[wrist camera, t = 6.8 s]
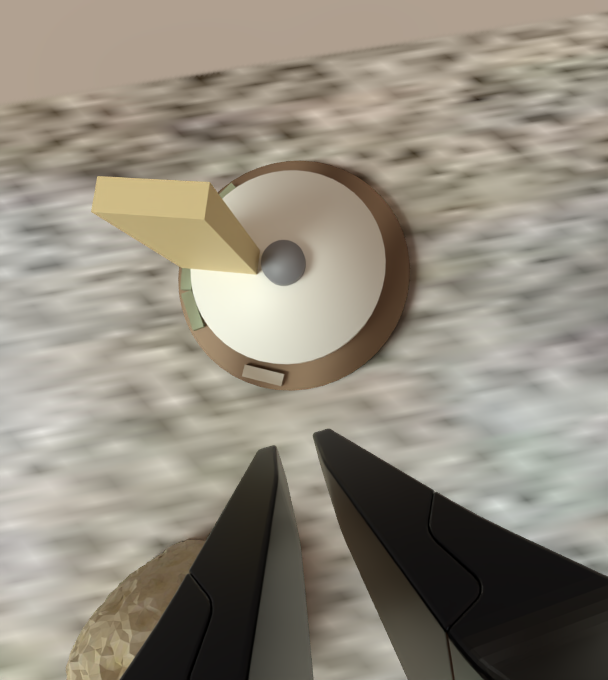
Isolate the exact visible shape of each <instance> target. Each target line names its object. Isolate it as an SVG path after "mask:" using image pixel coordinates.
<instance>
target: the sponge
mask: <svg viewBox="0 0 608 680" xmlns="http://www.w3.org/2000/svg"><path fill="white" fill-rule="evenodd" d="M204 543H205V541H204V540H186V541H182V542H179V543H176V544H174V545H172V546H170V547H169V548H167V549H166V550H165V552H164V553H162V554H161V555H159V556H157V557H156V558H154V559H153V560H151V561H149V562H147V563H146V565H144V566H142V567H140V568H139V569H138V570H136V571H135V572H133V573H132V574H130V575H129V576H128V577H127V578H126V579H125V580H124V581H123V582H121V583H120V584H119V585H118V587H117V588H116V589H115V590H114V591H113V592H111V593H110V594H109V595H108V597H107V599H106V600H105V602H104V603H103V605H101V606H100V607H99V608H98V609H97V610H96V611H95V612H94V614H93V615H92V617H91V618H90V619H89V621H88V622H87V624H86V625H85V626H84V628H83V629H82V631H81V633H80V634H79V636H78V638H77V640H76V643H75V645H74V646H73V649H72V651H71V653H70V656H69V661H68V663H67V666H66V673H67V679H66V680H119V679H120V678H121V676H122V675H123V674H124V672H125V671H126V669H127V668H128V666H129V665H130V663H131V662H132V660H133V659H134V657H135V656H136V654H137V653H138V651H139V650H140V648H141V647H142V645H143V644H144V642H145V641H146V639H147V638H148V636H149V635H150V633H151V632H152V630H153V629H154V627H155V626H156V624H157V623H158V621H159V619H160V618H161V616H162V614H163V613H164V611H165V609H166V608H167V606H168V605H169V603H170V601H171V600H172V598H173V596H174V595H175V593H176V591H177V590H178V588H179V586H180V584H181V583H182V581H183V579H184V577H185V576H186V574H188V573H189V569H190V567H191V566H192V564H193V562H194V560H195V559H196V557H197V555H198V554H199V552H200V550H201V548H202V547H203V545H204Z"/></svg>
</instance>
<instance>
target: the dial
mask: <svg viewBox="0 0 608 680" xmlns="http://www.w3.org/2000/svg"><path fill="white" fill-rule="evenodd" d="M91 212H92V213H94V214H96V215H97V216H99V217H100V218H102V219H104V220H105V221H107V222H108V223H110V224H112V225H113V226H115V227H116V228H118V229H120V230H121V231H123V232H125V233H126V234H128V235H129V236H131V237H133V238H134V239H136V240H137V241H139V242H141V243H142V244H144V245H146V246H147V247H149V248H150V249H152V250H154V251H155V252H157V253H158V254H160V255H162V256H163V257H165V258H166V259H168V260H170V261H171V262H173V263H175V264H176V265H178V266H179V267H181V268H188V269H191V284H192V290H193V295H194V298H195V301H196V304H197V307H198V309H199V311H200V313H201V315H202V317H203V319H204V320H205V322H206V323H207V325H208V327H209V328H210V329H211V330H212V331H213V332H214V334H215V335H216V336H217V337H218V338H219V339H220V340H222V341H223V342H224V343H225V344H226V345H228V346H229V347H231V348H232V349H233V350H235V351H237V352H239V353H241V354H243V355H245V356H247V357H250V358H252V359H255V360H258V361H263V362H268V363H274V364H301V363H306V362H310V361H314V360H317V359H320V358H323V357H325V356H327V355H329V354H331V353H333V352H335V351H337V350H338V349H340V348H341V347H343V346H344V345H346V344H347V343H348V342H349V341H350V340H352V339H353V338H354V337H355V336H356V335H357V334H358V333H359V332H360V330H361V329H362V328H363V327H364V326H365V324H366V323H367V321H368V320H369V318H370V317H371V315H372V313H373V311H374V309H375V307H376V305H377V302H378V300H379V297H380V293H381V290H382V287H383V282H384V277H385V264H386V258H385V248H384V243H383V239H382V235H381V232H380V230H379V227H378V225H377V222H376V220H375V219H374V217H373V215H372V213H371V212H370V210H369V209H368V208H367V206H366V205H365V204H364V202H363V201H362V200H361V199H360V198H359V197H358V196H357V195H356V194H355V193H354V192H352V191H351V190H350V189H348V188H347V187H346V186H344V185H343V184H341V183H339V182H337V181H335V180H334V179H331V178H329V177H326V176H324V175H321V174H317V173H313V172H307V171H298V170H288V171H278V172H272V173H268V174H264V175H261V176H258V177H256V178H253V179H251V180H248V181H247V182H245V183H243V184H241V185H239V186H238V187H236V188H235V189H234V190H232V191H231V192H229V193H228V194H227V195H226V196H225V197H224V198H223V199H222V198H221V197H220V195H219V194H218V193H217V191H216V190H215V189H214V187H213V186H212V185H211V183H210V182H195V181H176V180H157V179H139V178H120V177H101V176H97V182H96V188H95V193H94V199H93V205H92V210H91Z"/></svg>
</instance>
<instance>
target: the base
mask: <svg viewBox="0 0 608 680" xmlns="http://www.w3.org/2000/svg"><path fill="white" fill-rule="evenodd" d="M288 170H298V171H307V172H313V173H317V174H321V175H324V176H326V177H329V178H331V179H334V180H335V181H337V182H339V183H341V184H343V185H344V186H346V187H347V188H348V189H350V190H351V191H352V192H354V193H355V194H356V195H357V196H358V197H359V198H360V199H361V200H362V201H363V202H364V204H365V205H366V206H367V208H368V209H369V210H370V212H371V213H372V215H373V217H374V219H375V220H376V222H377V225H378V227H379V230H380V232H381V235H382V239H383V243H384V248H385V258H386V264H385V277H384V282H383V287H382V290H381V293H380V297H379V300H378V302H377V305H376V307H375V309H374V311H373V313H372V315H371V317H370V318H369V320H368V321H367V323H366V324H365V326H364V327H363V328H362V329H361V330H360V332H359V333H358V334H357V335H356V336H355V337H354V338H353V339H352V340H350V341H349V342H348V343H347V344H346V345H344V346H343V347H341V348H340V349H338V350H337V351H335V352H333V353H331V354H329V355H327V356H325V357H323V358H320V359H317V360H314V361H310V362H306V363H301V364H274V363H268V362H263V361H258V360H255V359H252V358H250V357H247V356H245V355H243V354H241V353H239V352H237V351H235V350H233V349H232V348H231V347H229V346H228V345H226V344H225V343H224V342H223V341H222V340H220V339H219V338H218V337H217V336H216V335H215V334H214V332H213V331H212V330H211V329H210V328H209V327H208V325H207V323H206V322H205V320H204V319H203V317H202V315H201V313H200V311H199V309H198V307H197V304H196V301H195V298H194V295H193V290H192V284H191V269H188V268H181V267H179V278H178V281H179V295H180V301H181V306H182V310H183V313H184V316H185V319H186V322H187V324H188V326H189V328H190V330H191V333H192V335H193V336H194V338H195V339H196V341H197V342H198V344H199V345H200V347H201V348H202V349H203V350H204V351H205V353H206V354H207V355H208V356H209V357H210V358H211V359H212V360H213V361H214V362H215V363H216V364H218V365H219V366H220V367H221V368H223V369H224V370H226V371H227V372H229V373H230V374H232V375H233V376H235V377H237V378H239V379H241V380H243V381H245V382H248V383H251V384H254V385H257V386H260V387H264V388H270V389H275V390H303V389H310V388H315V387H319V386H323V385H326V384H329V383H331V382H334V381H337V380H339V379H341V378H343V377H345V376H347V375H349V374H351V373H352V372H354V371H355V370H357V369H358V368H359V367H361V366H362V365H364V364H365V363H366V362H367V361H368V360H369V359H370V358H372V357H373V356H374V355H375V354H376V353H377V352H378V351H379V349H380V348H381V347H382V346H383V345H384V343H385V342H386V341H387V340H388V338H389V337H390V335H391V333H392V332H393V330H394V329H395V327H396V325H397V323H398V321H399V318H400V316H401V314H402V312H403V308H404V305H405V302H406V298H407V294H408V287H409V281H410V263H409V255H408V248H407V244H406V241H405V237H404V234H403V231H402V229H401V227H400V224H399V222H398V220H397V218H396V217H395V215H394V213H393V212H392V210H391V208H390V207H389V206H388V204H387V203H386V202H385V201H384V199H383V198H382V197H381V196H380V195H379V194H378V193H377V192H376V191H375V190H374V189H373V188H372V187H371V186H369V185H368V184H367V183H365V182H364V181H362V180H361V179H360V178H358V177H356V176H355V175H353V174H351V173H349V172H347V171H345V170H342V169H340V168H337V167H334V166H331V165H327V164H323V163H318V162H310V161H286V162H280V163H274V164H270V165H266V166H263V167H260V168H257V169H255V170H252V171H250V172H248V173H245V174H244V175H242V176H240V177H238V178H237V179H235V180H233V181H232V182H230V183H229V184H228V185H226V186H225V187H224V188H222V189H221V190H220V191H219V192H218V194H219V195H220V197H221V198H222V199H223V198H224V197H225V196H226V195H227V194H228V193H229V192H231V191H232V190H234V189H235V188H236V187H238V186H239V185H241V184H243V183H245V182H247V181H248V180H251V179H253V178H256V177H258V176H261V175H264V174H268V173H272V172H278V171H288Z"/></svg>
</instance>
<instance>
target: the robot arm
mask: <svg viewBox="0 0 608 680" xmlns="http://www.w3.org/2000/svg"><path fill="white" fill-rule="evenodd" d="M313 439H314V443H315V446H316V450H317V454H318V458H319V461H320V465H321V468H322V472H323V475H324V478H325V481H326V485H327V488H328V491H329V494H330V497H331V501H332V504H333V507H334V510H335V513H336V517H337V520H338V523H339V526H340V529H341V532H342V534H343V536H344V539H345V541H346V543H347V546H348V548H349V550H350V552H351V555H352V557H353V559H354V561H355V563H356V566H357V568H358V570H359V572H360V574H361V577H362V579H363V581H364V583H365V586H366V588H367V590H368V592H369V594H370V597H371V599H372V601H373V603H374V605H375V608H376V610H377V612H378V614H379V617H380V619H381V621H382V623H383V625H384V628H385V630H386V632H387V634H388V636H389V639H390V641H391V643H392V645H393V648H394V650H395V652H396V654H397V656H398V659H399V661H400V663H401V665H402V667H403V670H404V672H405V674H406V676H407V679H408V680H608V576H606V575H603V574H601V573H599V572H597V571H594V570H592V569H590V568H588V567H586V566H584V565H582V564H579V563H577V562H575V561H573V560H571V559H569V558H567V557H564V556H562V555H560V554H558V553H556V552H554V551H552V550H549V549H547V548H545V547H543V546H541V545H539V544H537V543H534V542H532V541H530V540H528V539H526V538H524V537H522V536H519V535H517V534H515V533H513V532H511V531H509V530H507V529H505V528H503V527H501V526H499V525H497V524H495V523H493V522H491V521H489V520H486V519H484V518H482V517H480V516H478V515H477V514H475V513H473V512H471V511H469V510H468V509H466V508H464V507H462V506H460V505H459V504H457V503H455V502H453V501H451V500H450V499H448V498H446V497H445V496H443V495H441V494H440V493H438V492H435V493H434V490H432V489H431V488H429V487H427V486H426V485H424V484H422V483H421V482H419V481H417V480H416V479H414V478H412V477H410V476H409V475H407V474H405V473H404V472H402V471H400V470H399V469H397V468H395V467H394V466H392V465H390V464H388V463H387V462H385V461H383V460H382V459H380V458H378V457H377V456H375V455H373V454H372V453H370V452H368V451H366V450H365V449H363V448H361V447H360V446H358V445H356V444H355V443H353V442H351V441H350V440H348V439H346V438H345V437H343V436H341V435H339V434H338V433H336V432H334V431H333V430H331V429H325V430H322V431H318V432H315V433H314V434H313ZM119 680H314V679H313V669H312V658H311V647H310V637H309V626H308V615H307V605H306V594H305V583H304V573H303V562H302V553H301V545H300V539H299V534H298V529H297V525H296V520H295V516H294V511H293V506H292V502H291V497H290V492H289V488H288V483H287V479H286V475H285V472H284V469H283V466H282V462H281V459H280V456H279V453H278V450H277V447H276V446H274V445H273V446H269V447H266V448H263V449H260V450H258V452H257V453H256V455H255V457H254V458H253V460H252V462H251V464H250V465H249V467H248V469H247V470H246V472H245V474H244V476H243V477H242V479H241V481H240V483H239V484H238V486H237V488H236V490H235V491H234V493H233V495H232V496H231V498H230V500H229V502H228V503H227V505H226V507H225V509H224V510H223V512H222V514H221V515H220V517H219V519H218V521H217V522H216V524H215V526H214V528H213V529H212V531H211V533H210V534H209V536H208V538H207V540H206V541H205V543H204V545H203V547H202V548H201V550H200V552H199V554H198V555H197V557H196V559H195V560H194V562H193V564H192V566H191V567H190V569H189V573H188V574H186V576H185V577H184V579H183V581H182V583H181V584H180V586H179V588H178V590H177V591H176V593H175V595H174V596H173V598H172V600H171V601H170V603H169V605H168V606H167V608H166V609H165V611H164V613H163V614H162V616H161V618H160V619H159V621H158V623H157V624H156V626H155V627H154V629H153V630H152V632H151V633H150V635H149V636H148V638H147V639H146V641H145V642H144V644H143V645H142V647H141V648H140V650H139V651H138V653H137V654H136V656H135V657H134V659H133V660H132V662H131V663H130V665H129V666H128V668H127V669H126V671H125V672H124V674H123V675H122V676H121V678H120V679H119Z"/></svg>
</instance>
